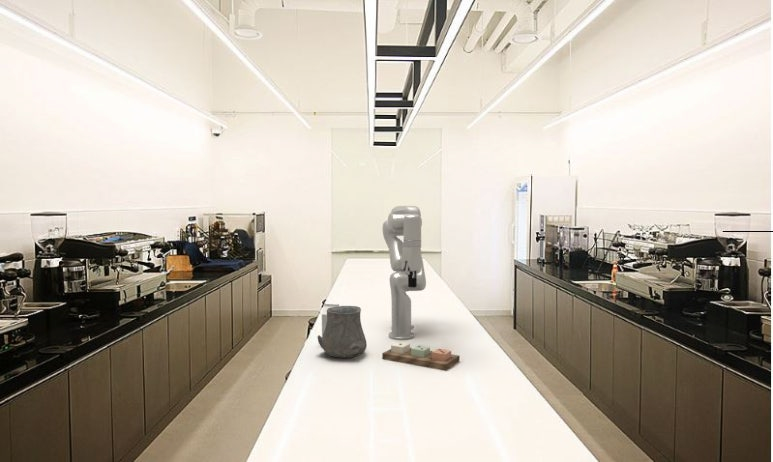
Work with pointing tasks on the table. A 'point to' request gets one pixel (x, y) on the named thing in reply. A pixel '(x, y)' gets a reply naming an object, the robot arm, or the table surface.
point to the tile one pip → (400, 348)
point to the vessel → (343, 332)
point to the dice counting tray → (421, 360)
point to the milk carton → (324, 315)
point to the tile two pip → (420, 351)
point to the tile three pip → (441, 355)
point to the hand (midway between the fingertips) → (412, 286)
